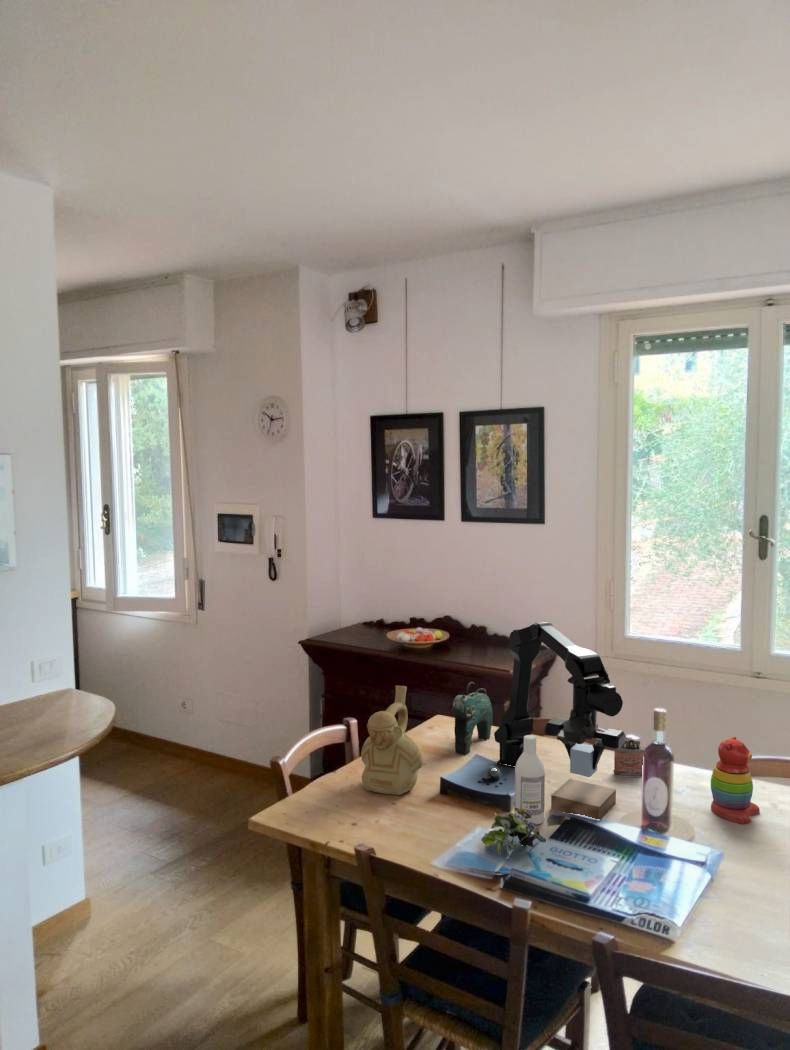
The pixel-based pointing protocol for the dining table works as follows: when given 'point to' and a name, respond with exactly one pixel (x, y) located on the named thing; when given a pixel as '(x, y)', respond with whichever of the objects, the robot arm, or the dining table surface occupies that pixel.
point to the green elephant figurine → (471, 719)
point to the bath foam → (530, 782)
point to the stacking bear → (733, 783)
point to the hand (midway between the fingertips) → (583, 766)
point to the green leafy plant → (513, 831)
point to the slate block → (582, 760)
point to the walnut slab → (583, 799)
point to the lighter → (629, 759)
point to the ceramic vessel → (390, 751)
